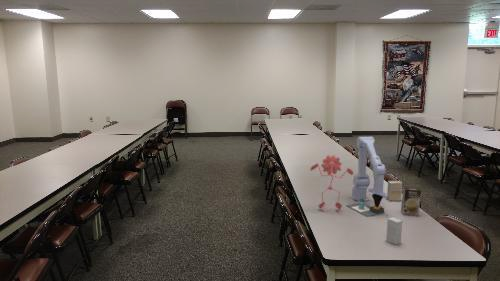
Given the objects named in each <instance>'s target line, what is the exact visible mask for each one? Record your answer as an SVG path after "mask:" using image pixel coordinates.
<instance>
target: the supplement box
mask: <svg viewBox="0 0 500 281" xmlns="http://www.w3.org/2000/svg"><path fill="white" fill-rule="evenodd" d="M386 191H387V192H386V194H387V195H388V198H386V200H387V201H388V202H402V195H403V182H402V181H401V180H388V181H387V190H386Z"/></svg>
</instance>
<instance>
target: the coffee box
mask: <svg viewBox="0 0 500 281" xmlns="http://www.w3.org/2000/svg"><path fill="white" fill-rule="evenodd" d="M421 193H422V190H421V188H419V187H412V186H402V197H401V206H400V212H401V213H402V215H406V216H415V217H419V214H420V213H419V212H420V203H421V195H422V194H421Z"/></svg>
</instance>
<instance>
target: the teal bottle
mask: <svg viewBox="0 0 500 281" xmlns="http://www.w3.org/2000/svg"><path fill="white" fill-rule="evenodd" d="M358 203H359V209H364V203H366V201H365V199H359V201H358Z"/></svg>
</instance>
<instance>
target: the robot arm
mask: <svg viewBox="0 0 500 281" xmlns="http://www.w3.org/2000/svg"><path fill="white" fill-rule="evenodd" d="M356 149H358V159H357V160H358V164H357V166H358V167H357V170H358V172H357V173H356V174H353V180H352V182H353V187H352V190H351V197H350V199H353V200H355V201H357V202H359V199H365V202H367V201H370V199H368V198H367V193H368V192H369V193H372V194H371V197H372V199H373V202H374V205H375V206H376V207H377V206H380V204H381V201H382V200H383V199H386V200H387V198H388V195H387V193H385V192H384V185H385V184H384V183H385V182H384V181H385V175H386V174H387V167H386V165H385V164H383V163H382V161H381V158H380V156H379V155H378V154H377V153H376V149H375V137H373V136H358V137H357V139H356ZM367 153H368V154H369V156H370V158H369V160H370V164H371V166H372V173H373V175H372V176H373V177H372V178H373V185H372V186H373V187H371V188H369V186H370V184H371V180H370V175H369V174H368V173H367ZM367 188H368V192H367Z"/></svg>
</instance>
